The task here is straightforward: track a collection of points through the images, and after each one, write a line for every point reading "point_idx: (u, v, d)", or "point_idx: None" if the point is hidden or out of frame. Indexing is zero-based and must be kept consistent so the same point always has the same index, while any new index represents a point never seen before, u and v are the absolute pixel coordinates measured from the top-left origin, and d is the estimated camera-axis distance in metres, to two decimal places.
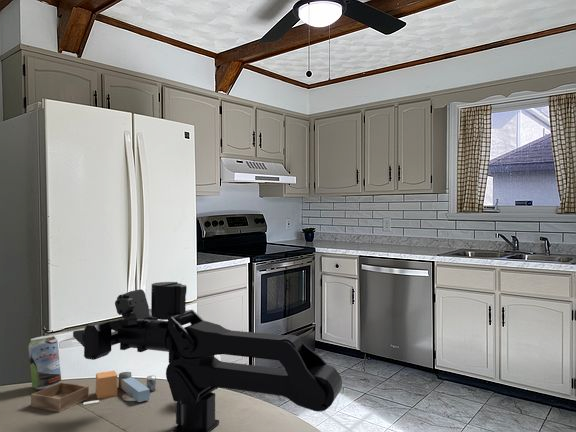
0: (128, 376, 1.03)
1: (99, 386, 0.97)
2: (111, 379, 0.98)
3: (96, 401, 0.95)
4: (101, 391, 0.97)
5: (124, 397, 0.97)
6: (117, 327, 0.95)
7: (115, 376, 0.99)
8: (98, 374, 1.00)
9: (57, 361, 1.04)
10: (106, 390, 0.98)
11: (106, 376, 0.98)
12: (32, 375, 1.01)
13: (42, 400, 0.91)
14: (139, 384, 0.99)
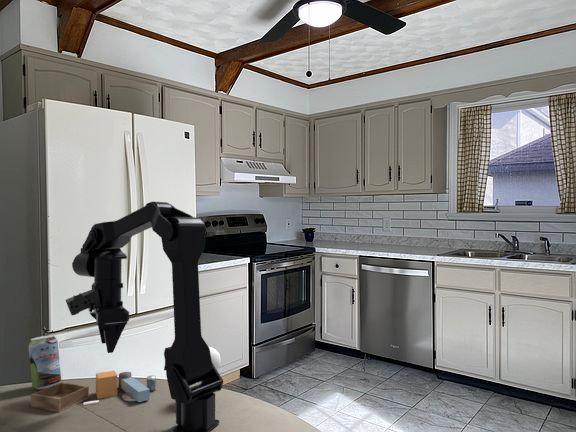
0: (128, 376, 1.03)
1: (99, 386, 0.97)
2: (111, 379, 0.98)
3: (96, 401, 0.95)
4: (101, 391, 0.97)
5: (124, 397, 0.97)
6: None
7: (115, 376, 0.99)
8: (98, 374, 1.00)
9: (58, 361, 1.04)
10: (106, 390, 0.98)
11: (106, 376, 0.98)
12: (32, 375, 1.01)
13: (42, 400, 0.91)
14: (139, 384, 0.99)
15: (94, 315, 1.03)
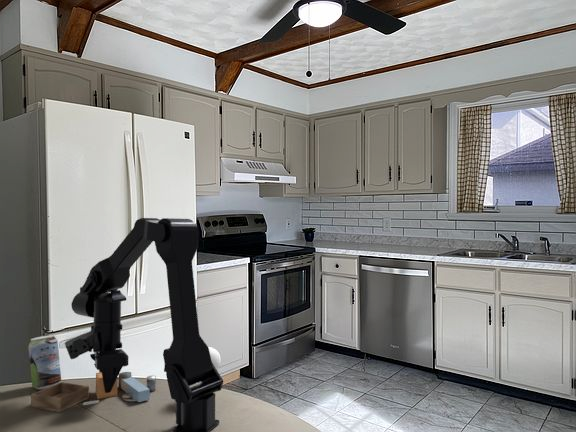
0: (128, 376, 1.03)
1: (99, 386, 0.97)
2: None
3: (96, 401, 0.95)
4: (101, 390, 0.97)
5: (124, 397, 0.97)
6: None
7: None
8: (98, 374, 1.00)
9: (57, 361, 1.04)
10: None
11: None
12: (32, 375, 1.01)
13: (42, 400, 0.91)
14: (139, 384, 0.99)
15: (95, 358, 1.01)
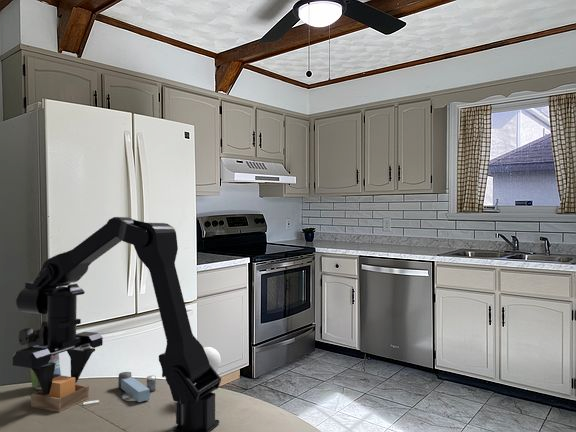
0: (128, 376, 1.03)
1: None
2: (55, 385, 0.93)
3: (96, 401, 0.95)
4: (48, 395, 0.93)
5: (124, 397, 0.97)
6: (75, 370, 0.98)
7: (59, 384, 0.93)
8: (58, 377, 0.96)
9: (57, 361, 1.04)
10: (51, 396, 0.93)
11: (55, 381, 0.94)
12: (32, 375, 1.01)
13: (42, 400, 0.91)
14: (139, 384, 0.99)
15: (68, 351, 1.00)
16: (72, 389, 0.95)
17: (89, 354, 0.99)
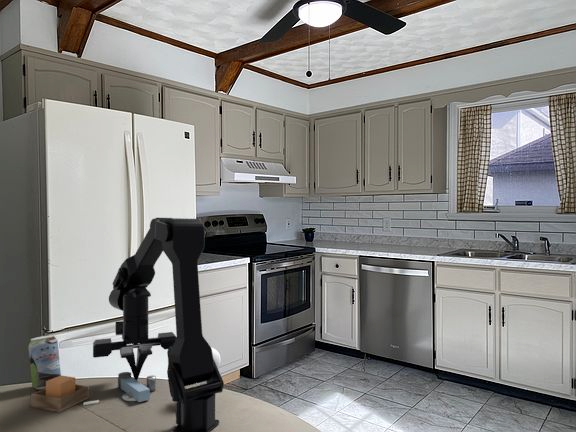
0: (128, 376, 1.03)
1: (47, 390, 0.93)
2: (55, 385, 0.93)
3: (96, 401, 0.95)
4: (48, 395, 0.93)
5: (124, 397, 0.97)
6: None
7: (59, 384, 0.93)
8: (58, 377, 0.96)
9: (57, 361, 1.04)
10: (51, 396, 0.93)
11: (55, 381, 0.94)
12: (32, 375, 1.01)
13: (42, 400, 0.91)
14: (139, 384, 0.99)
15: (137, 349, 1.07)
16: (72, 389, 0.95)
17: (144, 356, 1.03)
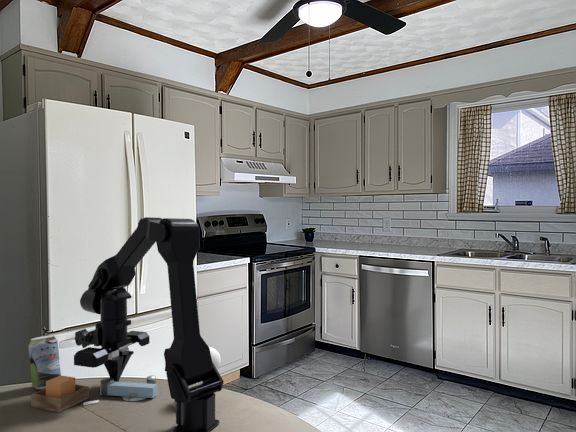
0: (113, 381, 1.00)
1: (47, 390, 0.93)
2: (55, 385, 0.93)
3: (96, 401, 0.95)
4: (48, 395, 0.93)
5: (124, 397, 0.97)
6: None
7: (59, 384, 0.93)
8: (58, 377, 0.96)
9: (57, 361, 1.04)
10: (51, 396, 0.93)
11: (55, 381, 0.94)
12: (32, 375, 1.01)
13: (42, 400, 0.91)
14: (138, 383, 0.99)
15: None
16: (72, 389, 0.95)
17: (128, 357, 1.02)
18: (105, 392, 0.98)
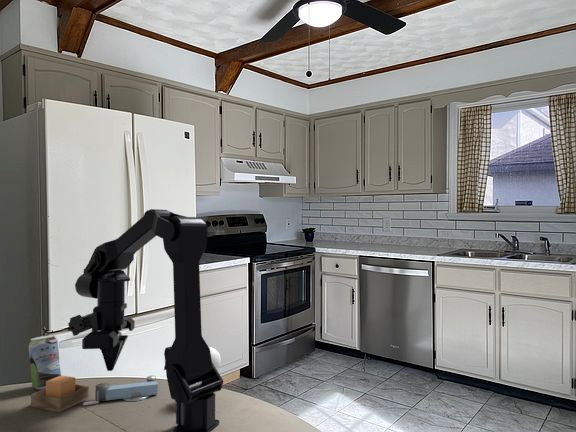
0: None
1: (47, 390, 0.93)
2: (55, 385, 0.93)
3: (96, 401, 0.95)
4: (48, 395, 0.93)
5: None
6: None
7: (59, 384, 0.93)
8: (58, 377, 0.96)
9: (58, 361, 1.04)
10: (51, 396, 0.93)
11: (55, 381, 0.94)
12: (32, 375, 1.01)
13: (42, 400, 0.91)
14: (137, 383, 0.99)
15: None
16: (72, 389, 0.95)
17: (125, 340, 1.01)
18: (103, 397, 0.95)
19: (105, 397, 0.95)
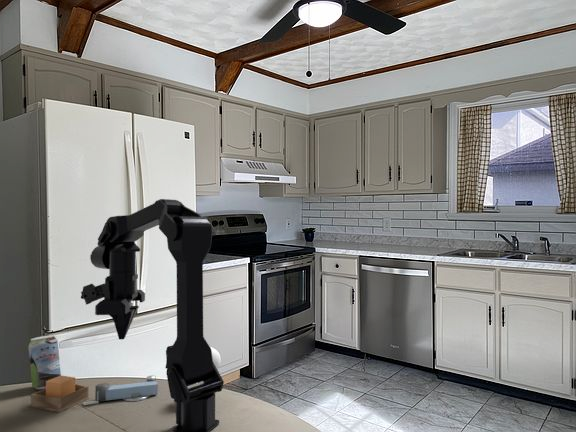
0: None
1: (47, 390, 0.93)
2: (55, 385, 0.93)
3: (96, 401, 0.95)
4: (48, 395, 0.93)
5: None
6: None
7: (59, 384, 0.93)
8: (58, 377, 0.96)
9: (57, 361, 1.04)
10: (51, 396, 0.93)
11: (55, 381, 0.94)
12: (32, 375, 1.01)
13: (42, 400, 0.91)
14: (137, 383, 0.99)
15: None
16: (72, 389, 0.95)
17: (136, 310, 1.03)
18: (103, 397, 0.95)
19: (105, 397, 0.95)
